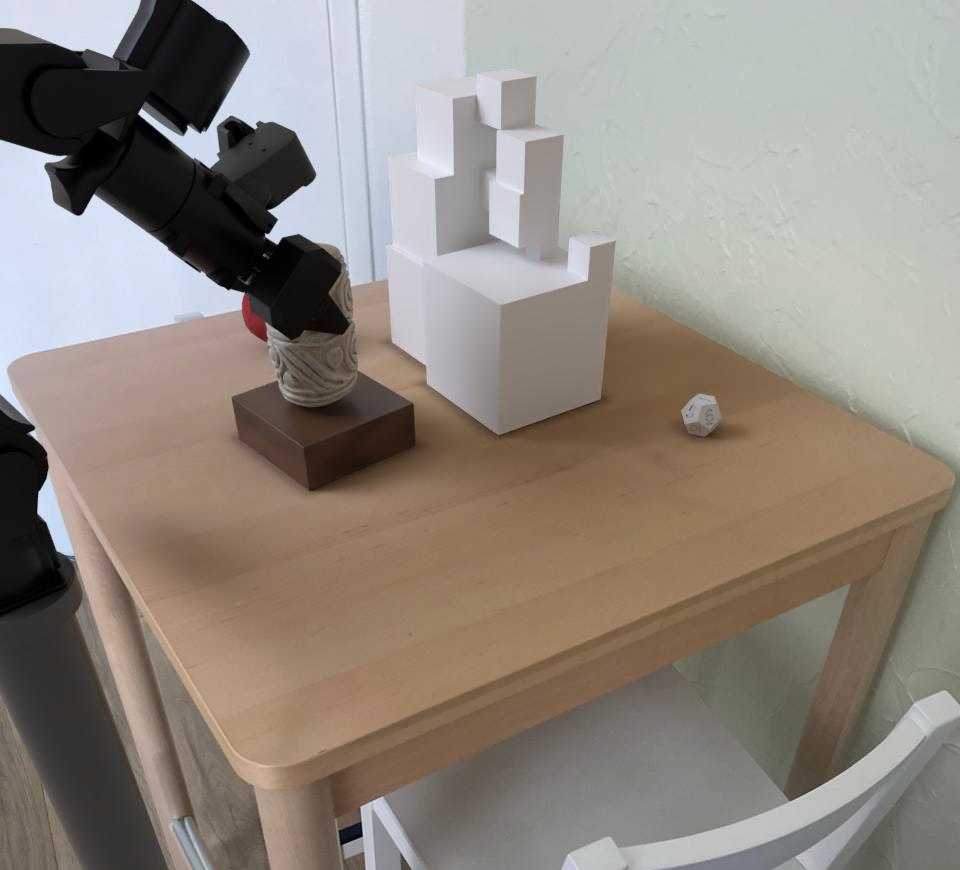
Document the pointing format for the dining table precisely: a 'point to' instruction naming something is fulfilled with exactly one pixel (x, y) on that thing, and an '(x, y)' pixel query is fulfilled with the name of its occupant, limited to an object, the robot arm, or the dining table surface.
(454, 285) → the building blocks
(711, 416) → the game die
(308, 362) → the carving
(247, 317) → the onion
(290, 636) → the dining table surface
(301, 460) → the walnut block
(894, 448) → the dining table surface
